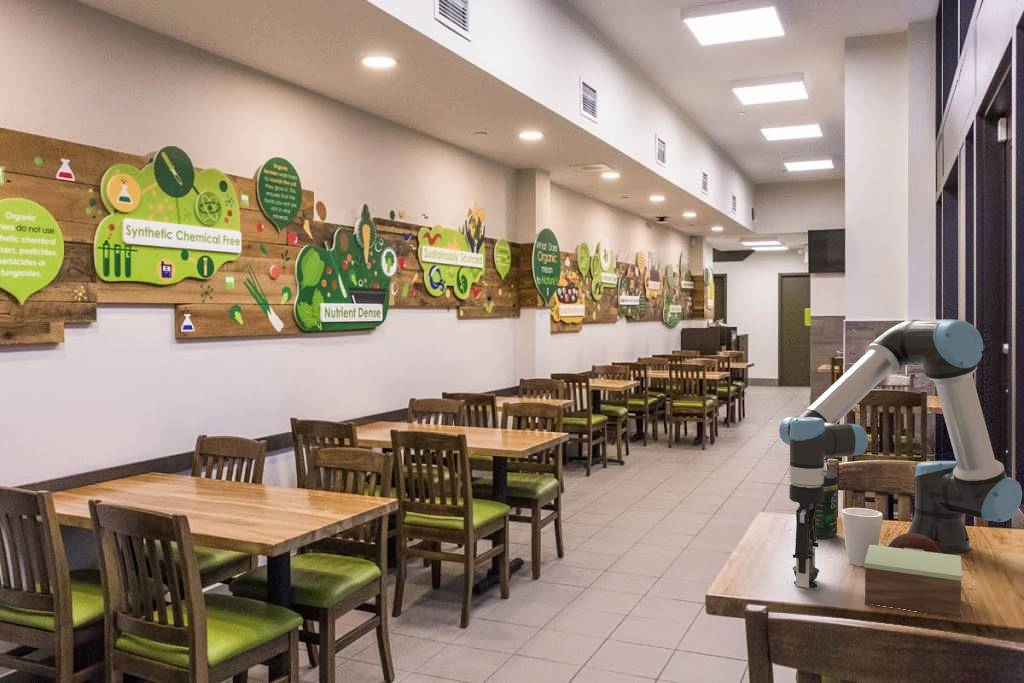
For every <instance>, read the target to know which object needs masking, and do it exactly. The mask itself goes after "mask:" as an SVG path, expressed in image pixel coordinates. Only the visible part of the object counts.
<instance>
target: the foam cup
mask: <svg viewBox="0 0 1024 683" xmlns="http://www.w3.org/2000/svg"><path fill="white" fill-rule="evenodd" d="M883 517H884V516H883V513H882V512H881V511H878V510H876V509H870V508H864V507H863V508H861V507H847V508H843V509H842V510H841V521H842V527H843V535H844V542H845V544H844V545H845V550H846V558H847V562H848V564H850V563H851V564H850V565H852V564H853V565H852V566H855V565H858V566H857V567H861V566H864V562H865V559H866V555H867V552H868V548H869V545H877V546H879V543H880V537H881V530H882V524H883V522H884V521H883Z"/></svg>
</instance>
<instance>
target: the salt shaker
mask: <svg viewBox="0 0 1024 683" xmlns="http://www.w3.org/2000/svg"><path fill="white" fill-rule="evenodd" d="M813 548H814V547H813V541H812V539H810V540H809V553H808V556H809V588H808V589H816V588H818V587H817V586H819V585H818V584H817V583H816V582H815V580H816V579H817V578H818V576H819V575H818V574H819V573H820V569H819V568H817V567H816V566H815V567H814V565H813V555H814V553H813ZM800 553H803V552H800ZM791 569H792V570H793V574H794V575H795V577H796V565H794V566H792V568H791ZM794 584H795V585H794ZM793 585H794V586H796V580H795V581H793ZM815 587H816V588H815ZM803 589H807V588H806V587H804V588H803Z"/></svg>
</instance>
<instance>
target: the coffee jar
mask: <svg viewBox="0 0 1024 683" xmlns="http://www.w3.org/2000/svg"><path fill="white" fill-rule="evenodd" d="M823 471H825V472H827V475H826V476H824V483H823V484H822V486H823V487H824V501H823V502H822V503H819V504H816V537H817V538H816V539H819V538H820V539H823V538H824V539H830V538H832V537H834V536H836V535H837V533H838V515H837V514H838V512H837V511H838V510H837V508H838V501H837V500H838V487H839V479H838V478H839V476H838V474H837V473H835V471H832V470H827V469H826V470H825V469H824V470H823Z"/></svg>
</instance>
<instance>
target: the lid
mask: <svg viewBox="0 0 1024 683" xmlns="http://www.w3.org/2000/svg"><path fill="white" fill-rule="evenodd" d="M962 566H963V565H962V556H961V555H956V554H946V553H933V552H925V551H924V550H921V549H913V548H905V547H904V549H901V548H893V547H888V546H883V545H878V546H877V545H869V548H868V552H867V555H866V559H865V562H864V567H863V568H873V569H880V570H887V571H894V572H901V573H909V574H916V575H923V576H930V577H938V578H945V579H952V580H959V581H961V582H962V581H963V569H962Z"/></svg>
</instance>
